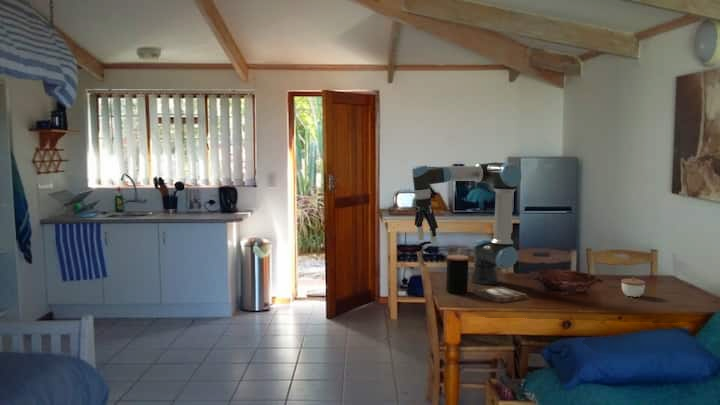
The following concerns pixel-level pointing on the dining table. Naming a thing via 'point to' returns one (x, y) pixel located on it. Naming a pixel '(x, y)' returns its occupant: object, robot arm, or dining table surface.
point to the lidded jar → (633, 287)
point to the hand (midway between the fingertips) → (427, 241)
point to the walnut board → (500, 294)
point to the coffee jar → (457, 274)
